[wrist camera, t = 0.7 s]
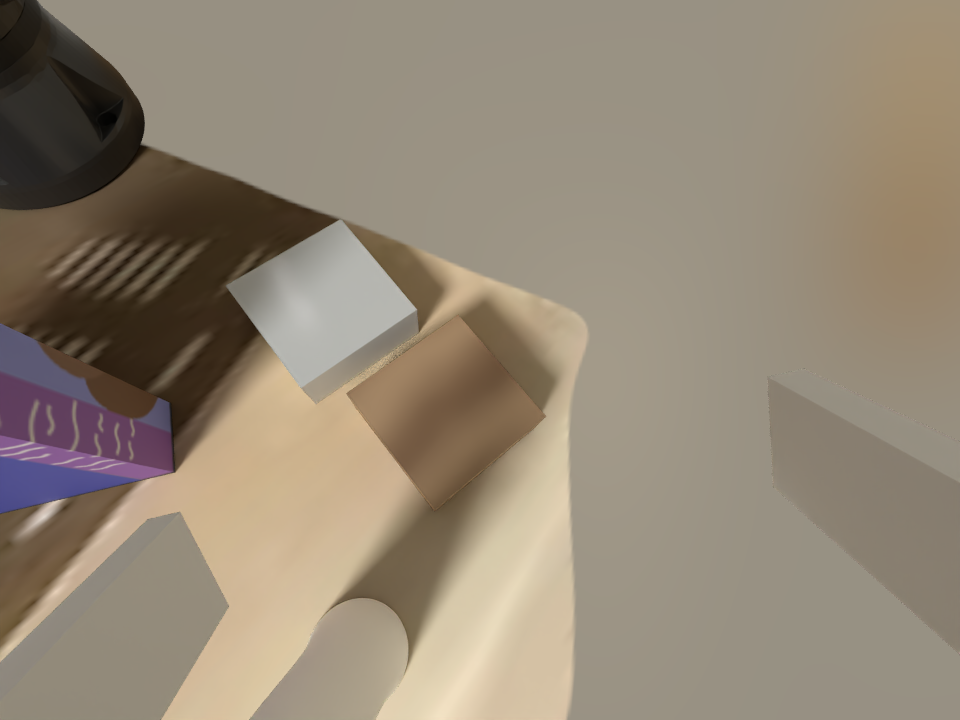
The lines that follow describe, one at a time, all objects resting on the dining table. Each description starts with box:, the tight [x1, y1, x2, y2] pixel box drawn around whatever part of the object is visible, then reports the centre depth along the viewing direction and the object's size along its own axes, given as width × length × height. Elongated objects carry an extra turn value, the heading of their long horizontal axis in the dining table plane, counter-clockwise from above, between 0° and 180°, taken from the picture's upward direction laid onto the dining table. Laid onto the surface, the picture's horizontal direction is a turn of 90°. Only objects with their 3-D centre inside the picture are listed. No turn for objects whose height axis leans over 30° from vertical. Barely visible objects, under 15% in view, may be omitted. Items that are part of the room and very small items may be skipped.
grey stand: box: [226, 219, 419, 404], centre depth 33 cm, size 9×9×4 cm
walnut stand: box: [346, 315, 546, 512], centre depth 31 cm, size 9×9×4 cm
